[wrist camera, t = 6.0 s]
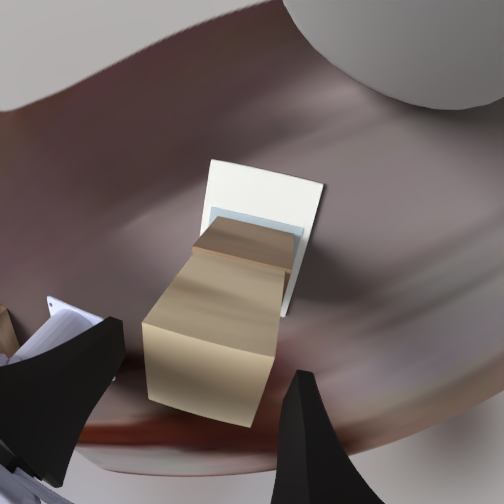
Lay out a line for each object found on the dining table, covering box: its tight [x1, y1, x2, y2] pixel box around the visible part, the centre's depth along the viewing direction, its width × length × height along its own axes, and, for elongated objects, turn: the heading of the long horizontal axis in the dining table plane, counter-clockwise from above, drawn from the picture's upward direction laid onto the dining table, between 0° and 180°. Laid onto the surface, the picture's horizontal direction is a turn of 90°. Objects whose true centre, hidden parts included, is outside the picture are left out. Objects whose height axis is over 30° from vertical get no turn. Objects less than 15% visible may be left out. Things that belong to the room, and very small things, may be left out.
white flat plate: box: [200, 159, 323, 317], centre depth 20 cm, size 10×7×1 cm
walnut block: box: [191, 216, 294, 306], centre depth 18 cm, size 5×5×5 cm
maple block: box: [142, 251, 285, 427], centre depth 13 cm, size 4×4×6 cm
